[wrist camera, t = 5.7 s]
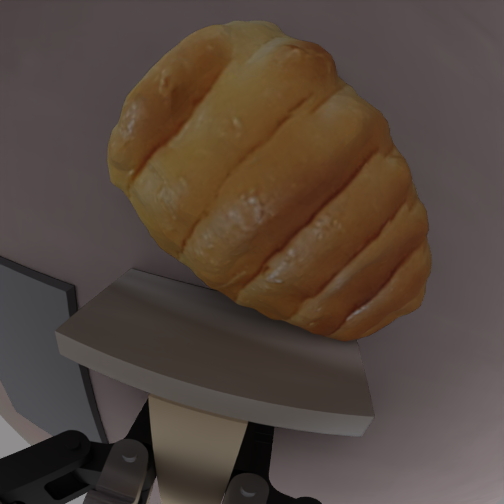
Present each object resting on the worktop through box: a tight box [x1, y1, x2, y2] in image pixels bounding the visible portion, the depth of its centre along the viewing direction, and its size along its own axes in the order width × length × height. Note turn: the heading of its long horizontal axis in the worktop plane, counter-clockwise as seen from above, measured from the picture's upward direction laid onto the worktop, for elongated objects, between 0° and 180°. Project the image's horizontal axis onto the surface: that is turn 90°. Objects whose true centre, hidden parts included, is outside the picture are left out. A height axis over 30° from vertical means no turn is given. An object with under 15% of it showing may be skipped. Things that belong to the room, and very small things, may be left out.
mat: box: [0, 257, 108, 444], centre depth 14 cm, size 10×15×1 cm, turn 170°
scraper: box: [55, 269, 375, 504], centre depth 10 cm, size 11×8×4 cm
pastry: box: [107, 20, 431, 342], centre depth 7 cm, size 9×7×4 cm
